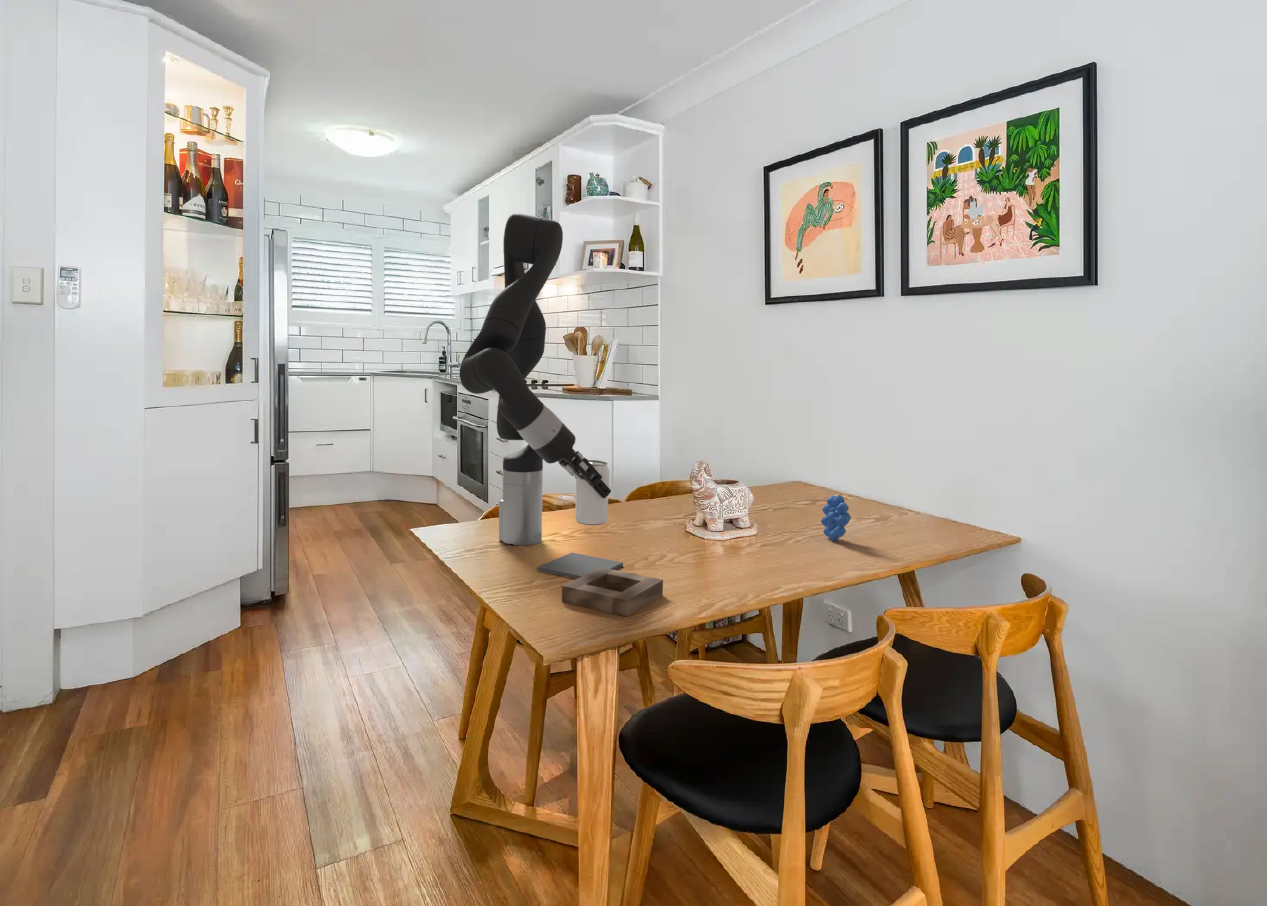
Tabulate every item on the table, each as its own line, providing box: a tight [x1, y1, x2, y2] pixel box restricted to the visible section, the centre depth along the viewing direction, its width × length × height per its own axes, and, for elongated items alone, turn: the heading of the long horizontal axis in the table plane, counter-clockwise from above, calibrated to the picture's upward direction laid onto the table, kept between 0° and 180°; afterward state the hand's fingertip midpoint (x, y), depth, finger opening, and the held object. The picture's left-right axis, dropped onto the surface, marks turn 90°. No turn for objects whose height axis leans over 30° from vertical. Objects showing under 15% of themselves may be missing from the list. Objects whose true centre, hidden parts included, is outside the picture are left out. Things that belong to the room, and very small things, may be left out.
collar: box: [561, 567, 664, 618], centre depth 134 cm, size 14×14×3 cm
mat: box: [536, 552, 624, 580], centre depth 152 cm, size 13×13×1 cm
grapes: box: [820, 494, 852, 542], centre depth 181 cm, size 12×7×12 cm, turn 10°
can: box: [574, 459, 610, 526], centre depth 144 cm, size 6×6×12 cm
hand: (600, 491), depth 145 cm, fingers closed on can, 5 cm apart
